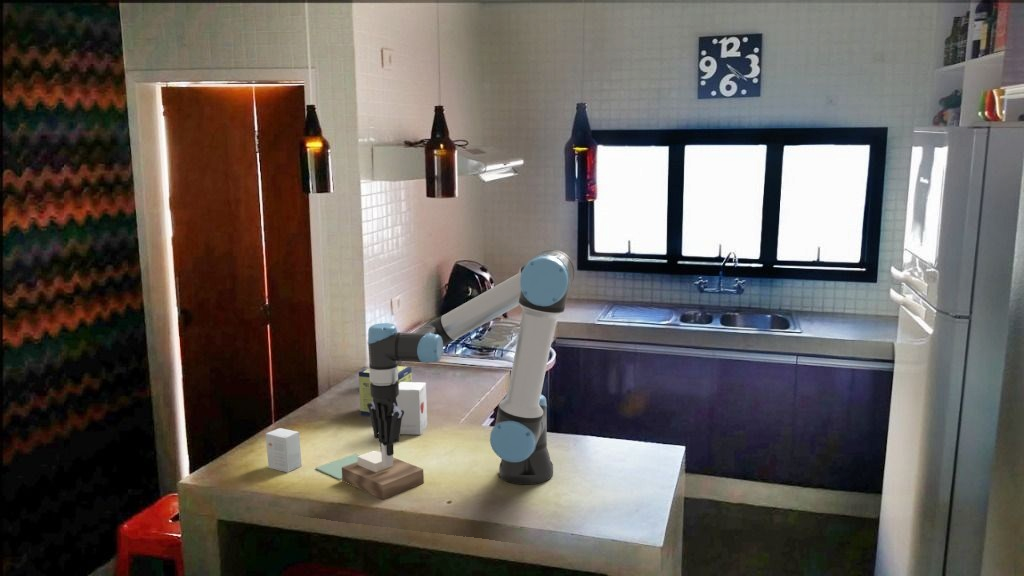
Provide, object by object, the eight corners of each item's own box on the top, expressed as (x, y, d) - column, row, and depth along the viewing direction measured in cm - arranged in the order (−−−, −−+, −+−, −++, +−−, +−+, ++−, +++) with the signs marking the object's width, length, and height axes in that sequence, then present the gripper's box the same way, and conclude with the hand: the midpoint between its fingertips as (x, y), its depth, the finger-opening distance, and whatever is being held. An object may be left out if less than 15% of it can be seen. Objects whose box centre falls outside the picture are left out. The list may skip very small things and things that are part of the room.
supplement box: (420, 435, 261) (419, 390, 258) (393, 434, 262) (391, 389, 260) (428, 425, 270) (426, 381, 267) (401, 424, 271) (400, 381, 268)
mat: (380, 465, 237) (380, 463, 237) (340, 480, 227) (340, 478, 227) (355, 455, 245) (355, 453, 245) (315, 469, 235) (315, 467, 235)
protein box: (401, 419, 276) (399, 374, 274) (359, 415, 281) (357, 371, 278) (414, 409, 286) (412, 366, 283) (373, 406, 291) (371, 363, 288)
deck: (423, 482, 224) (423, 469, 224) (383, 499, 214) (382, 485, 214) (382, 466, 237) (382, 452, 236) (342, 481, 226) (341, 467, 226)
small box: (302, 466, 237) (299, 431, 236) (287, 473, 233) (285, 437, 231) (282, 461, 241) (279, 427, 240) (267, 467, 237) (265, 433, 235)
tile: (393, 465, 226) (392, 457, 226) (375, 472, 222) (375, 463, 221) (375, 458, 232) (374, 450, 231) (357, 464, 227) (357, 456, 227)
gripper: (411, 383, 217) (413, 467, 221) (380, 374, 225) (383, 455, 230) (388, 389, 211) (392, 476, 216) (357, 380, 220) (361, 463, 224)
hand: (387, 465), depth 223 cm, fingers closed
